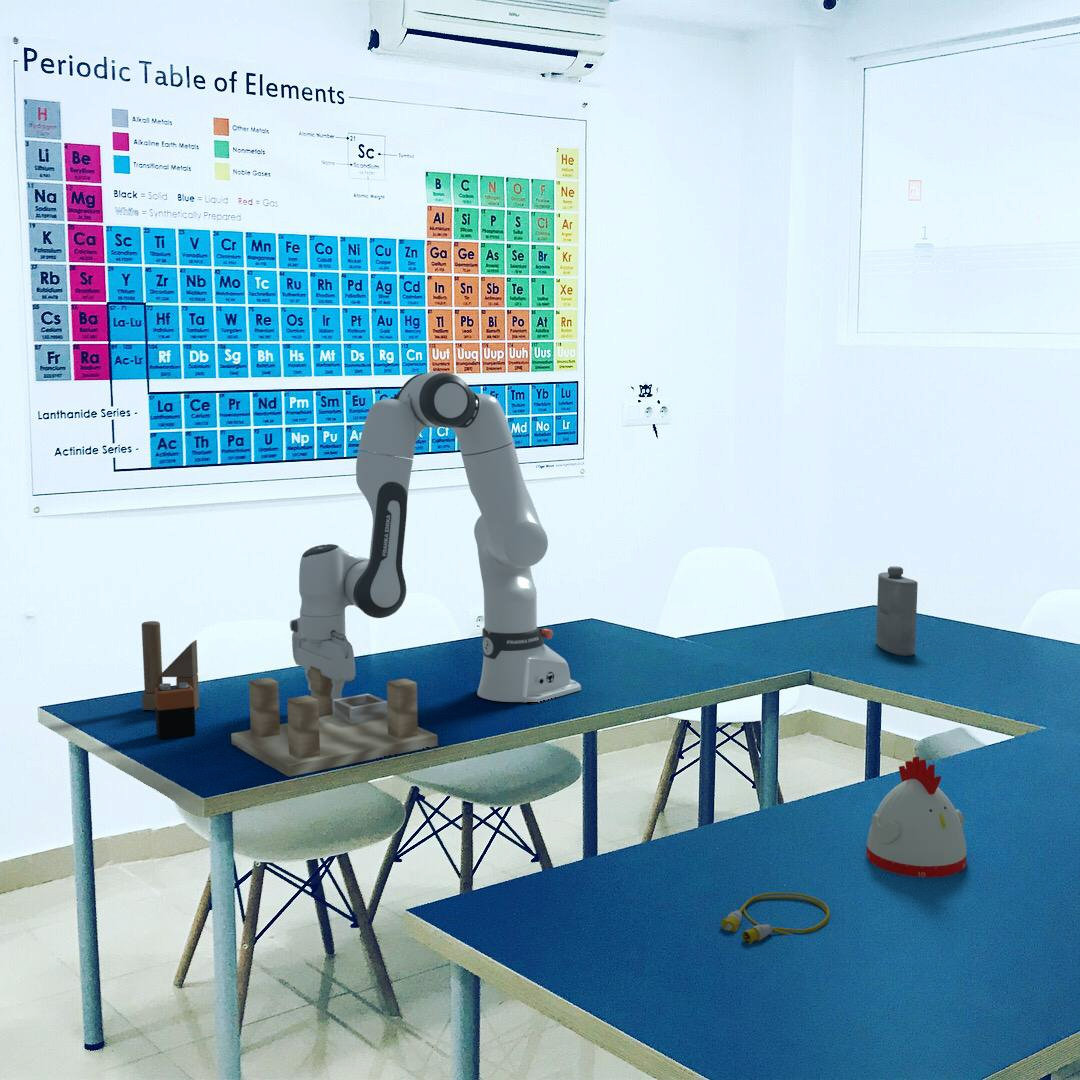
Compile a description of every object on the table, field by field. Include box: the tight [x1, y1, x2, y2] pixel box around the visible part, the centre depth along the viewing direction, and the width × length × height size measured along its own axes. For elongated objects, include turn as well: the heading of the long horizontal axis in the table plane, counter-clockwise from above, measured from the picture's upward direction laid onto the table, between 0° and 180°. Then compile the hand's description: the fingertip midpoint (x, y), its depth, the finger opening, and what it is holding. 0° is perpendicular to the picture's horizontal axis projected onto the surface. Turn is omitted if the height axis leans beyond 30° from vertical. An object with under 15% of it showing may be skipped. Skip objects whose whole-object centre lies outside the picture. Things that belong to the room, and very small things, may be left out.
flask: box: [875, 565, 918, 657], centre depth 325 cm, size 15×6×20 cm, turn 9°
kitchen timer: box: [865, 756, 967, 878], centre depth 194 cm, size 14×14×15 cm
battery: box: [154, 682, 197, 740], centre depth 257 cm, size 4×7×10 cm, turn 114°
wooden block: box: [141, 620, 200, 711], centre depth 274 cm, size 4×11×18 cm, turn 87°
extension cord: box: [720, 891, 831, 945], centre depth 175 cm, size 12×16×2 cm
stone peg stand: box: [231, 677, 439, 778], centre depth 250 cm, size 30×24×12 cm
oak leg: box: [310, 666, 333, 717], centre depth 270 cm, size 4×4×10 cm
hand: (324, 695), depth 270 cm, fingers open, 8 cm apart
